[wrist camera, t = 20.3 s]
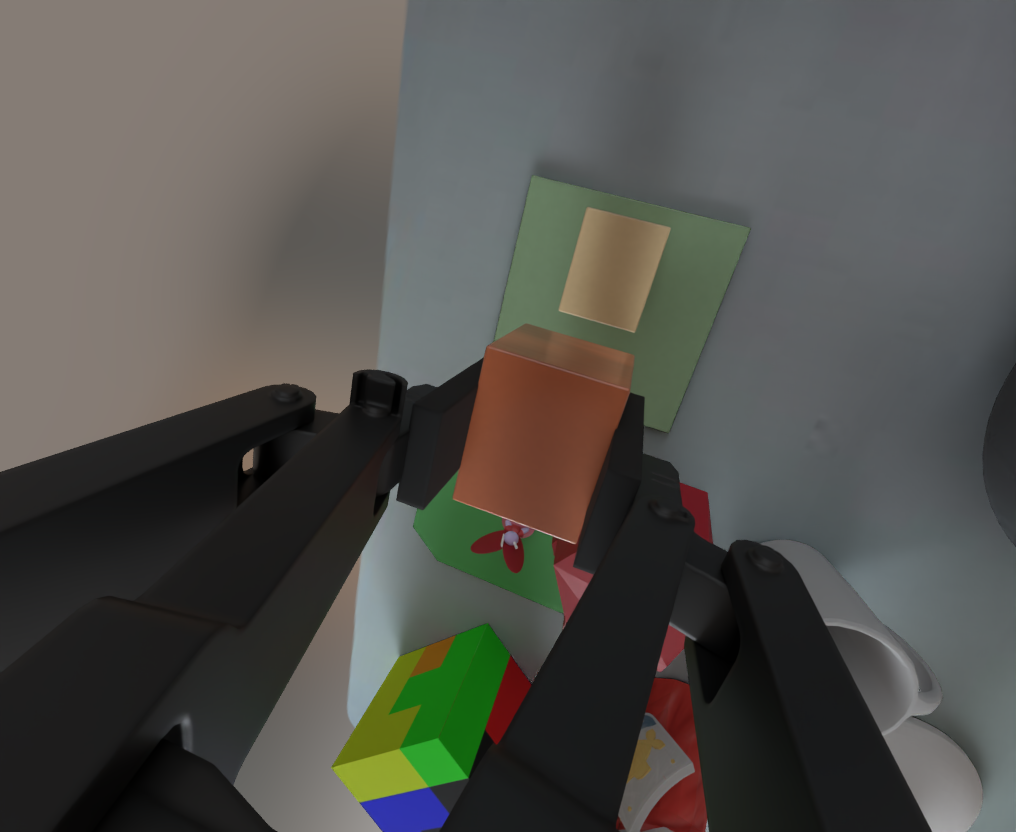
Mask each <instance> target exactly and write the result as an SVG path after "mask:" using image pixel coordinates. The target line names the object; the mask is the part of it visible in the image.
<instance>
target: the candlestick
mask: <svg viewBox="0 0 1016 832" xmlns="http://www.w3.org/2000/svg"><path fill="white" fill-rule="evenodd" d="M883 737H884V739H885V741H886V743H887V745H888V747H889V749H890V751H891V753H892V755H893V756H894V758H895V760H896V762H897V764H898V766H899V768H900V770H901V772H902V774H903V776H904V778H905V780H906V782H907V784H908V786H909V788H910V789H911V791H912V793H913V795H914V797H915V799H916V801H917V803H918V805H919V807H920V809H921V811H922V813H923V815H924V817H925V819H926V821H927V822H928V824H929V826H930V828H931V830H932V832H966V831H967V830H968V829H969V828H970V827H971V826H972V824H973V823H974V822H975V820H976V818H977V817H978V815H979V813H980V810H981V807H982V802H983V790H982V785H981V781H980V778H979V775H978V773H977V771H976V769H975V767H974V766H973V764H972V763H971V761H970V759H969V758H968V756H967V755H966V754H965V752H964V751H963V750H962V749H961V748H960V747H959V746H958V745H957V744H956V743H955V742H954V741H953V740H952V739H951V738H950V737H948V736H947V735H946V734H944V733H943V732H941V731H940V730H938V729H937V728H935V727H933V726H931V725H929V724H927V723H925V722H923V721H921V720H919V719H916V718H914V717H911V716H910V717H908V718H907V719H906V720H905V721H904V722H903V723H902V724H901V725H900V726H899V727H898V728H897V729H895V730H893V731H891V732H889V733H887V734H885V735H884V736H883Z"/></svg>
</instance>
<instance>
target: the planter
mask: <svg viewBox="0 0 1016 832" xmlns="http://www.w3.org/2000/svg"><path fill="white" fill-rule="evenodd" d="M983 476H984V482H985V488H986V492H987V495H988V498H989V502H990V505H991V508H992V510H993V512H994V514H995V516H996V518H997V520H998V522H999V524H1000V526H1001V527H1002V529H1003V530H1004V532H1005V533H1006V535H1007V537H1008V538H1009V539H1010V541H1011V542H1012V543H1013V544H1014V545H1015V547H1016V364H1015V365H1014V367H1013V368H1012V370H1011V372H1010V373H1009V375H1008V376H1007V378H1006V380H1005V382H1004V384H1003V386H1002V388H1001V390H1000V392H999V394H998V396H997V398H996V400H995V403H994V406H993V409H992V411H991V414H990V417H989V420H988V425H987V429H986V433H985V438H984V447H983Z"/></svg>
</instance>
